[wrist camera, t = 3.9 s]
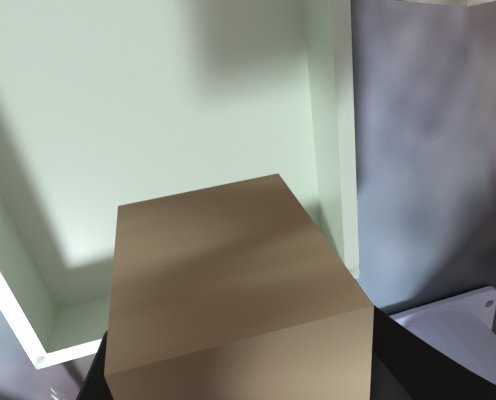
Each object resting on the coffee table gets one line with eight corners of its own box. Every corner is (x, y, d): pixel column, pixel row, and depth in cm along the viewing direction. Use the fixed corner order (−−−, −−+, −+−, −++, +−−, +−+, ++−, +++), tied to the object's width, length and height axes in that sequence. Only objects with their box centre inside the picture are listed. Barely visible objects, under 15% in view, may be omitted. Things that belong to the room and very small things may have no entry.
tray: (330, 238, 20) (359, 277, 17) (51, 313, 19) (36, 369, 16) (290, -310, 11) (337, -399, 9) (-246, -257, 10) (-392, -346, 7)
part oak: (278, 173, 11) (374, 305, 6) (288, 293, 13) (367, 457, 8) (118, 205, 10) (103, 375, 6) (154, 326, 12) (164, 522, 8)
